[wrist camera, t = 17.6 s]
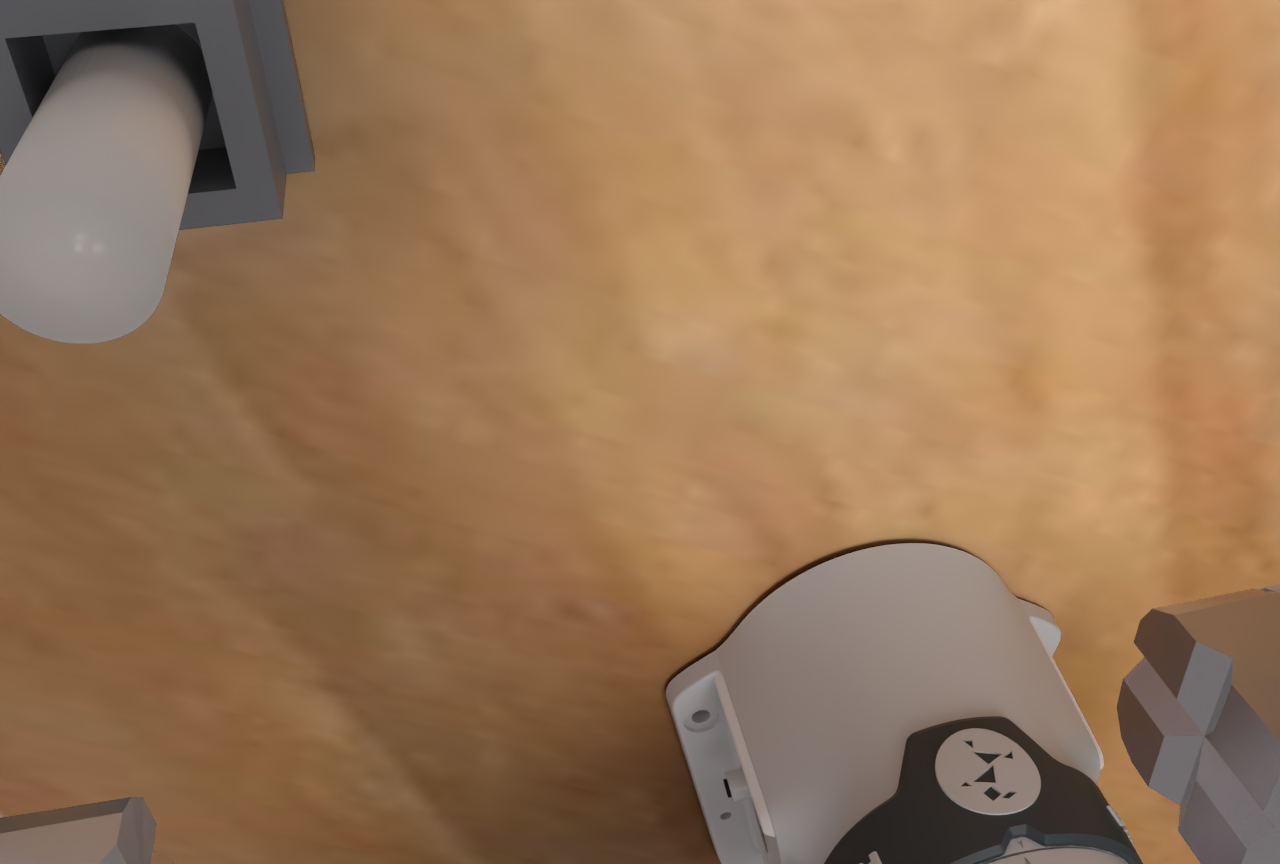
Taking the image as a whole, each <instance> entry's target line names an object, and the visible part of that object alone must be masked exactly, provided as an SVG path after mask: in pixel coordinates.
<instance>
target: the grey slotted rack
mask: <svg viewBox="0 0 1280 864" xmlns="http://www.w3.org/2000/svg"><path fill="white" fill-rule="evenodd" d="M172 24H177V25H178V26H180V27H181V28H182V29H183V30H185V31H186V32H187V33H188V34H189V35H190V36H191V37H192V38H193V39H194V40H195V41H196V43H197V44H198V45H199V46H200V48H201V50H202V52H203V56H204V60H205V64H206V68H207V72H208V76H209V80H210V84H211V88H212V97H211V101H210V105H209V110H208V114H207V118H206V122H205V126H204V130H203V134H202V138H201V142H200V146H199V150H198V154H197V158H196V162H195V166H194V170H193V174H192V178H191V182H190V187H189V191H188V195H187V199H186V203H185V207H184V211H183V215H182V219H181V223H180V227H179V230H183V229H192V228H201V227H210V226H220V225H229V224H238V223H247V222H256V221H266V220H275V219H283V208H284V197H285V186H286V175H287V174H290V173H300V172H309V171H314V168H315V155H314V150H313V145H312V140H311V135H310V130H309V125H308V120H307V115H306V110H305V105H304V101H303V96H302V91H301V86H300V81H299V76H298V71H297V66H296V61H295V56H294V51H293V46H292V41H291V36H290V31H289V26H288V21H287V16H286V11H285V6H284V1H283V0H0V151H1V153H2V156H3V159H4V161H5V164H7V163H8V161H9V159H10V157H11V156H12V154H13V152H14V150H15V148H16V147H17V145H18V143H19V141H20V140H21V138H22V136H23V134H24V132H25V131H26V129H27V127H28V125H29V124H30V122H31V120H32V118H33V116H34V115H35V113H36V111H37V109H38V108H39V106H40V104H41V102H42V100H43V99H44V97H45V95H46V93H47V92H48V90H49V88H50V86H51V84H52V83H53V81H54V79H55V77H56V76H57V74H58V72H59V70H60V68H61V67H62V65H63V63H64V61H65V60H66V58H67V56H68V54H69V52H70V51H71V49H72V47H73V45H74V44H75V42H76V40H77V38H78V37H79V35H80V33H81V32H88V31H100V30H112V29H124V28H136V27H148V26H160V25H172Z"/></svg>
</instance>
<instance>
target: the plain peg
mask: <svg viewBox="0 0 1280 864" xmlns="http://www.w3.org/2000/svg"><path fill="white" fill-rule="evenodd" d="M211 97H212V88H211V84H210V80H209V76H208V72H207V68H206V64H205V60H204V56H203V52H202V50H201V48H200V46H199V45H198V44H197V43H196V41H195V40H194V39H193V38H192V37H191V36H190V35H189V34H188V33H187V32H186V31H185V30H183V29H182V28H181V27H180V26H178V25H177V24H172V25H160V26H148V27H136V28H124V29H112V30H100V31H88V32H81V33H80V35H79V37H78V38H77V40H76V42H75V44H74V45H73V47H72V49H71V51H70V52H69V54H68V56H67V58H66V60H65V61H64V63H63V65H62V67H61V68H60V70H59V72H58V74H57V76H56V77H55V79H54V81H53V83H52V84H51V86H50V88H49V90H48V92H47V93H46V95H45V97H44V99H43V100H42V102H41V104H40V106H39V108H38V109H37V111H36V113H35V115H34V116H33V118H32V120H31V122H30V124H29V125H28V127H27V129H26V131H25V132H24V134H23V136H22V138H21V140H20V141H19V143H18V145H17V147H16V148H15V150H14V152H13V154H12V156H11V157H10V159H9V161H8V163H7V164H6V166H5V168H4V170H3V172H2V173H1V175H0V314H1V315H2V316H3V317H5V318H6V319H8V320H9V321H10V322H12V323H13V324H15V325H17V326H18V327H20V328H22V329H24V330H26V331H28V332H30V333H32V334H35V335H37V336H40V337H43V338H46V339H50V340H54V341H58V342H65V343H73V344H90V343H100V342H105V341H110V340H113V339H116V338H119V337H122V336H124V335H126V334H128V333H130V332H132V331H133V330H135V329H137V328H138V327H139V326H141V325H142V324H143V323H144V322H146V321H147V320H148V318H149V317H150V316H151V315H152V314H153V313H154V311H155V310H156V308H157V307H158V305H159V303H160V300H161V298H162V295H163V292H164V288H165V284H166V280H167V276H168V272H169V268H170V264H171V260H172V255H173V251H174V247H175V243H176V239H177V235H178V231H179V227H180V223H181V219H182V215H183V211H184V207H185V203H186V199H187V195H188V191H189V187H190V182H191V178H192V174H193V170H194V166H195V162H196V158H197V154H198V150H199V146H200V142H201V138H202V134H203V130H204V126H205V122H206V118H207V114H208V110H209V105H210V101H211Z"/></svg>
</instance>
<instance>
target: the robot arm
mask: <svg viewBox="0 0 1280 864" xmlns="http://www.w3.org/2000/svg"><path fill="white" fill-rule="evenodd" d="M1060 639H1061V631H1060V629H1059V627H1058V625H1057V623H1056V621H1055V619H1054V617H1053V615H1052V614H1051V613H1050V612H1049V611H1047V610H1046V609H1044V608H1042V607H1039V606H1037V605H1035V604H1032V603H1029V602H1027V601H1024V600H1021V599H1018V598H1017V597H1016V596H1014V595H1013V594H1012V593H1011V592H1010V591H1009V589H1008V588H1007V587H1006V585H1005V584H1004V582H1003V581H1002V580H1001V578H1000V577H999V576H998V574H997V573H996V572H995V571H994V570H993V569H992V568H991V567H990V566H988V565H987V564H986V563H984V562H983V561H982V560H980V559H978V558H976V557H975V556H973V555H971V554H968V553H966V552H964V551H961V550H958V549H955V548H951V547H947V546H941V545H935V544H925V543H902V544H891V545H883V546H877V547H872V548H867V549H863V550H859V551H855V552H852V553H849V554H845V555H843V556H840V557H837V558H834V559H832V560H829V561H827V562H824V563H822V564H820V565H818V566H816V567H813V568H811V569H809V570H808V571H806V572H804V573H802V574H800V575H798V576H797V577H795V578H793V579H792V580H790V581H788V582H787V583H785V584H784V585H782V586H781V587H779V588H778V589H777V590H775V591H774V592H773V593H771V594H770V595H769V596H768V597H766V598H765V599H764V600H763V601H762V602H761V603H759V604H758V605H757V606H756V607H755V608H754V609H753V610H752V611H751V612H750V613H749V614H748V615H747V616H746V617H745V618H744V620H743V621H742V622H741V623H740V624H739V626H738V627H737V628H736V629H735V630H734V632H733V633H732V634H731V635H730V636H729V638H728V639H727V640H726V641H725V642H724V643H723V644H722V645H721V646H720V647H719V648H718V649H716V650H715V651H714V652H712V653H710V654H709V655H707V656H705V657H704V658H702V659H700V660H699V661H697V662H696V663H694V664H692V665H691V666H689V667H688V668H686V669H685V670H683V671H682V672H681V673H679V674H678V675H677V676H676V677H675V678H674V679H672V681H671V682H670V683H669V684H668V686H667V689H666V698H667V702H668V705H669V708H670V711H671V714H672V717H673V721H674V724H675V727H676V730H677V733H678V736H679V739H680V742H681V746H682V749H683V752H684V755H685V758H686V761H687V764H688V768H689V771H690V774H691V777H692V780H693V783H694V786H695V790H696V793H697V796H698V799H699V802H700V805H701V808H702V812H703V815H704V818H705V821H706V824H707V827H708V830H709V833H710V837H711V840H712V843H713V845H714V848H715V851H716V853H717V856H718V858H719V860H720V862H721V864H1143V863H1142V861H1141V859H1140V858H1139V856H1138V854H1137V852H1136V850H1135V848H1134V847H1133V846H1134V845H1133V842H1132V838H1131V836H1130V834H1129V832H1128V830H1127V828H1126V827H1125V825H1124V823H1123V822H1122V820H1121V818H1120V817H1119V815H1118V814H1117V812H1115V811H1114V810H1113V808H1112V807H1111V806H1110V805H1109V804H1108V802H1107V801H1106V799H1105V797H1104V796H1103V794H1102V792H1101V791H1100V789H1099V788H1098V786H1097V785H1096V784H1097V781H1098V778H1099V774H1100V770H1101V769H1102V768H1103V766H1104V761H1103V755H1102V752H1101V749H1100V747H1099V745H1098V743H1097V741H1096V739H1095V737H1094V735H1093V733H1092V731H1091V730H1090V728H1089V726H1088V724H1087V722H1086V720H1085V718H1084V716H1083V714H1082V712H1081V710H1080V708H1079V707H1078V705H1077V703H1076V701H1075V699H1074V697H1073V695H1072V693H1071V691H1070V689H1069V688H1068V686H1067V684H1066V682H1065V680H1064V678H1063V676H1062V674H1061V673H1060V671H1059V669H1058V667H1057V665H1056V663H1055V661H1054V659H1053V658H1052V656H1053V654H1054V652H1055V650H1056V648H1057V646H1058V644H1059V642H1060ZM1134 643H1135V645H1136V646H1137V647H1138V649H1139V650H1140V651H1141V653H1142V654H1143V655H1144V657H1145V658H1144V659H1143V660H1142V661H1141V662H1140V663H1139V664H1138V665H1137V666H1136V667H1135V668H1134V669H1133V670H1132V671H1131V672H1130V673H1129V674H1128V675H1127V676H1126V677H1125V678H1124V679H1123V682H1122V686H1121V691H1120V695H1119V699H1118V704H1117V712H1118V718H1119V725H1120V731H1121V737H1122V740H1123V742H1124V745H1125V747H1126V749H1127V752H1128V754H1129V756H1130V759H1131V761H1132V763H1133V764H1134V766H1135V767H1136V769H1137V770H1138V772H1139V774H1140V775H1141V777H1142V778H1143V780H1144V781H1145V783H1146V784H1147V786H1148V787H1150V788H1151V789H1153V790H1155V791H1156V792H1158V793H1160V794H1162V795H1163V796H1165V797H1167V798H1169V799H1170V800H1172V801H1174V802H1175V803H1177V804H1179V805H1180V815H1179V829H1178V831H1179V833H1180V834H1181V836H1182V837H1183V838H1184V840H1185V841H1186V843H1187V844H1188V846H1189V847H1190V849H1191V850H1192V851H1193V853H1194V854H1195V856H1196V857H1197V859H1198V860H1199V862H1200V863H1201V864H1280V585H1276V586H1271V587H1265V588H1262V589H1259V590H1258V589H1250V590H1245V591H1240V592H1235V593H1230V594H1224V595H1219V596H1214V597H1209V598H1204V599H1199V600H1194V601H1189V602H1184V603H1179V604H1174V605H1169V606H1163V607H1158V608H1153V609H1152V610H1150V611H1149V612H1148V613H1147V614H1146V615H1145V616H1144V617H1143V618H1142V619H1141V620H1140V623H1139V627H1138V630H1137V633H1136V636H1135V640H1134ZM156 825H157V824H156V822H155V820H154V818H153V816H152V814H151V812H150V810H149V808H148V807H147V805H146V803H145V801H144V799H143V797H129V798H123V799H117V800H110V801H104V802H98V803H91V804H85V805H79V806H72V807H66V808H60V809H53V810H47V811H41V812H34V813H28V814H21V815H15V816H9V817H2V818H0V864H174V862H173V860H171V859H169V858H167V857H165V856H163V855H161V854H158V853H156V852H154V851H153V844H154V838H155V831H156Z"/></svg>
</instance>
